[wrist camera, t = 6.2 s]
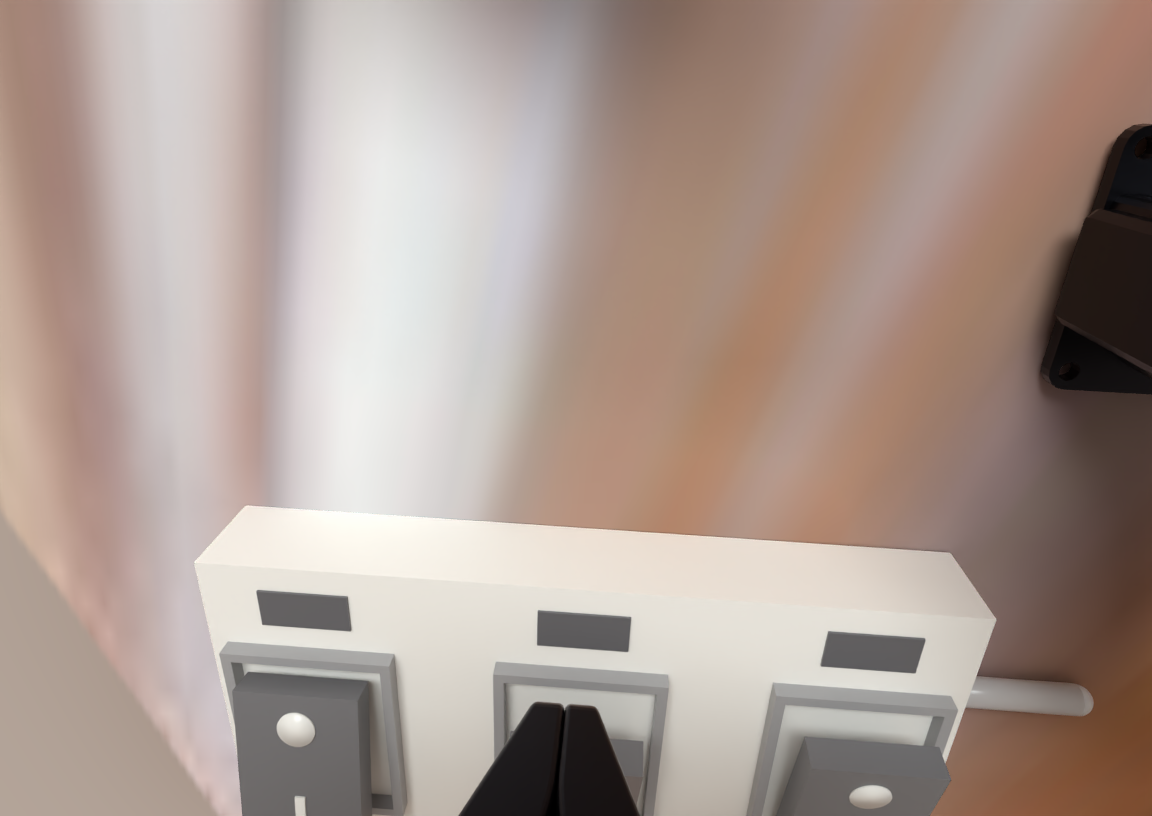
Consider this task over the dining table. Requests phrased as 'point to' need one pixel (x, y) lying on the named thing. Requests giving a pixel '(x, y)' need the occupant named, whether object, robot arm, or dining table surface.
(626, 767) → the rocker middle
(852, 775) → the rocker
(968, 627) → the power strip
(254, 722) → the rocker
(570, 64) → the dining table surface
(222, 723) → the dining table surface
